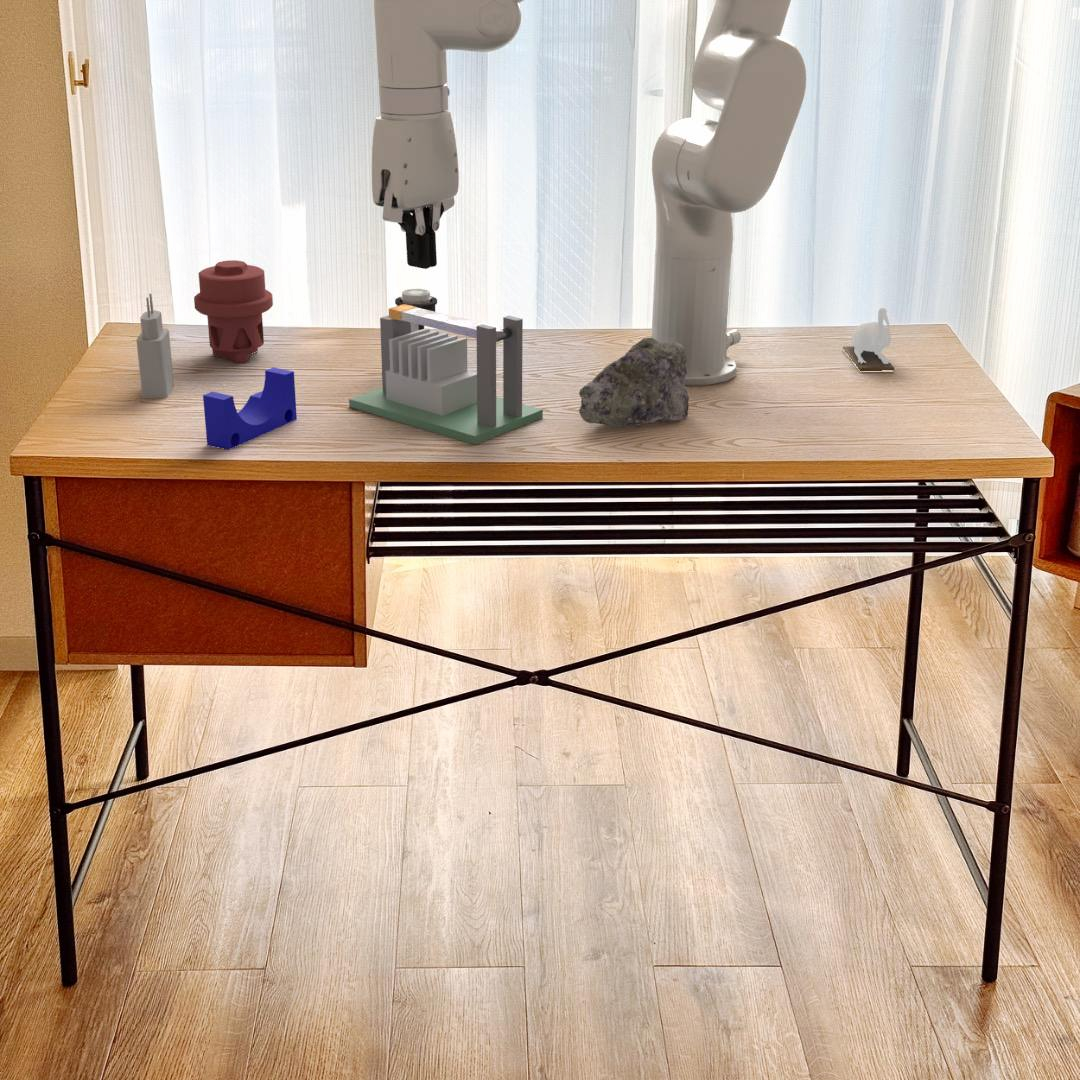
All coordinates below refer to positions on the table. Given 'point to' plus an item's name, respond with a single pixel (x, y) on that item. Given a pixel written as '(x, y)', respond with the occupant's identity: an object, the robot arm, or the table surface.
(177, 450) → the table surface
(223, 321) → the mechanical component
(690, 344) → the robot arm
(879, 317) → the figurine
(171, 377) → the power adapter
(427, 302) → the push button
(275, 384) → the blue cradle bracket
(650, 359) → the mineral rock
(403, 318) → the hinged grey bar
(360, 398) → the board
